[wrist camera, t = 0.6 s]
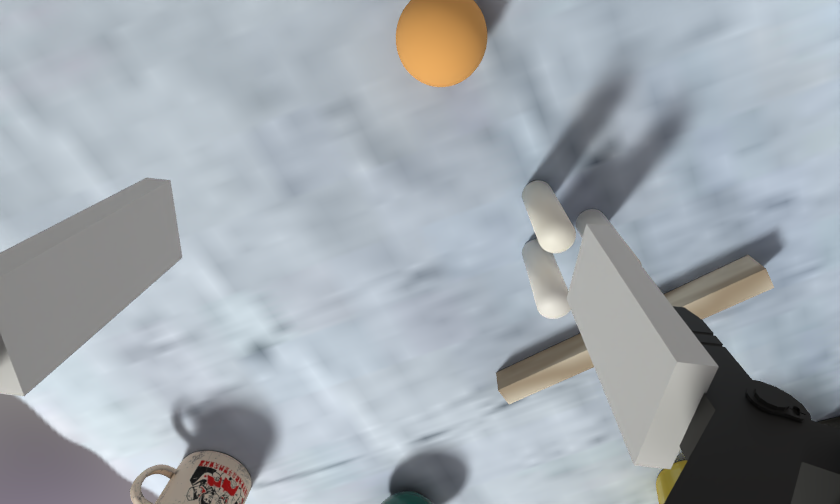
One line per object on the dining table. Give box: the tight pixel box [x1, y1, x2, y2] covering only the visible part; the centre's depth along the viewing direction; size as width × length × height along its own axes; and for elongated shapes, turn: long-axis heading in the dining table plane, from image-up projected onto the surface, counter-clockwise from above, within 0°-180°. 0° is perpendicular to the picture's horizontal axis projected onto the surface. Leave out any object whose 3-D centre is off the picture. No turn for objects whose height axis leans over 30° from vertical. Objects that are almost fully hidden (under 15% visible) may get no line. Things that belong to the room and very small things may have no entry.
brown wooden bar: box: [496, 255, 774, 404], centre depth 42 cm, size 2×24×2 cm, turn 124°
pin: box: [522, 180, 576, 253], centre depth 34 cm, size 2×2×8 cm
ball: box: [396, 0, 487, 87], centre depth 31 cm, size 6×6×6 cm
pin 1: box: [522, 239, 571, 319], centre depth 37 cm, size 2×2×8 cm
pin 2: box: [576, 209, 642, 266], centre depth 35 cm, size 2×2×8 cm
